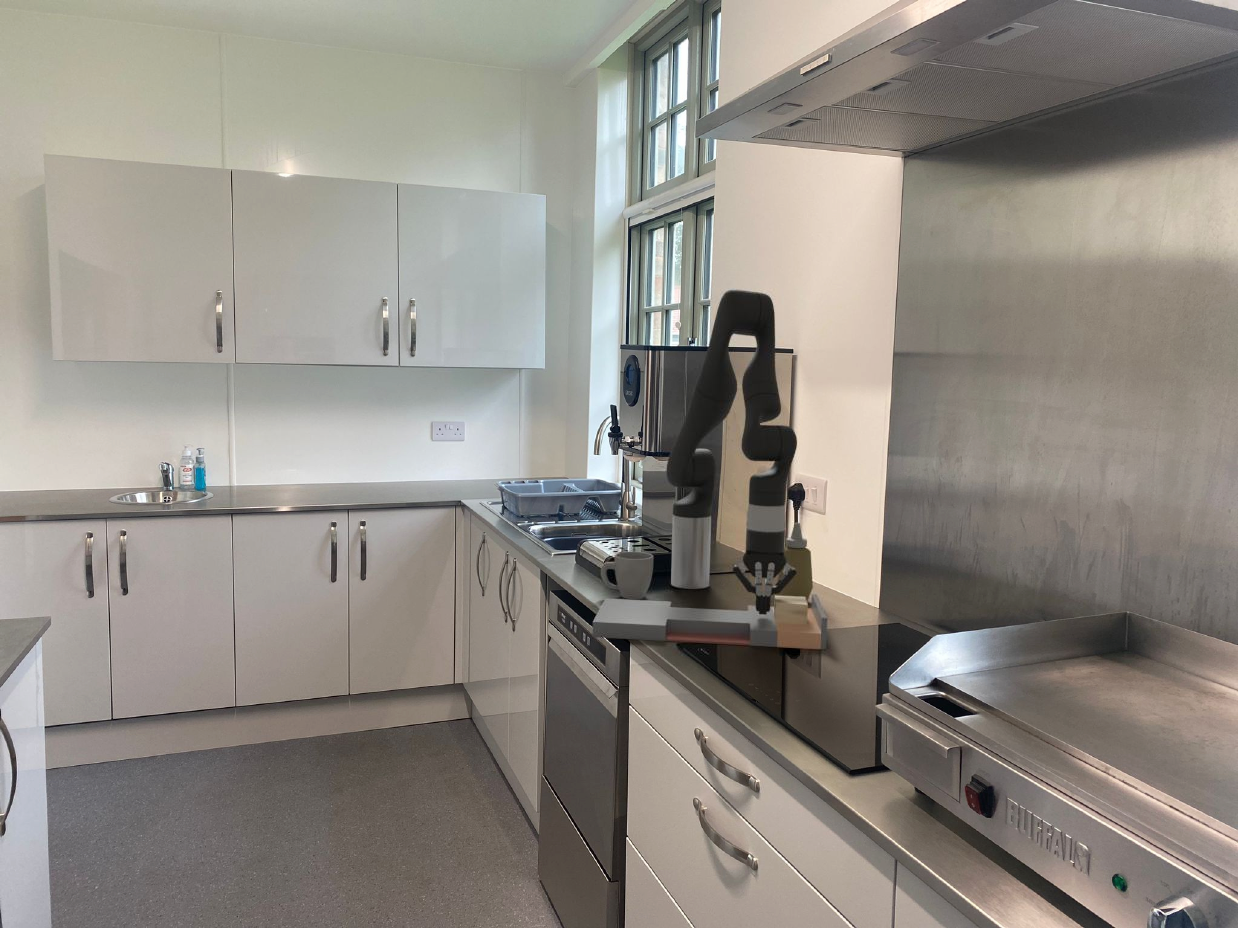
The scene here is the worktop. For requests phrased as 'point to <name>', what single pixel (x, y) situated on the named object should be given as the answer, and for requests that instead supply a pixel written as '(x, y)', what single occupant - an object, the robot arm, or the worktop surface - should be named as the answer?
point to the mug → (630, 573)
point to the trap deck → (707, 625)
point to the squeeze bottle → (798, 565)
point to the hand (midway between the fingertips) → (762, 613)
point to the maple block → (790, 610)
